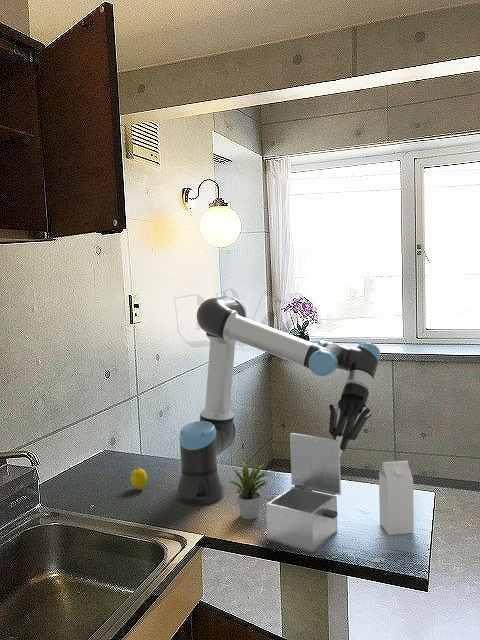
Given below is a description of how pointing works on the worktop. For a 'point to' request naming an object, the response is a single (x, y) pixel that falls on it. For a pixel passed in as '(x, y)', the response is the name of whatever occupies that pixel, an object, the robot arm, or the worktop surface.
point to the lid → (315, 463)
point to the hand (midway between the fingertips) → (334, 459)
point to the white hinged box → (301, 518)
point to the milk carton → (396, 498)
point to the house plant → (249, 491)
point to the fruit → (138, 478)
